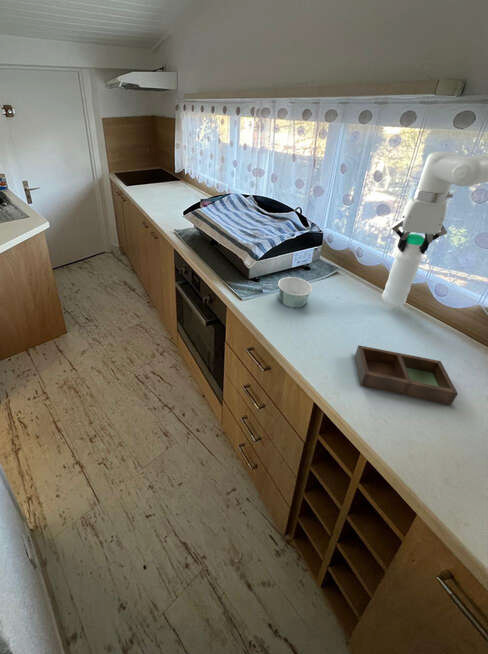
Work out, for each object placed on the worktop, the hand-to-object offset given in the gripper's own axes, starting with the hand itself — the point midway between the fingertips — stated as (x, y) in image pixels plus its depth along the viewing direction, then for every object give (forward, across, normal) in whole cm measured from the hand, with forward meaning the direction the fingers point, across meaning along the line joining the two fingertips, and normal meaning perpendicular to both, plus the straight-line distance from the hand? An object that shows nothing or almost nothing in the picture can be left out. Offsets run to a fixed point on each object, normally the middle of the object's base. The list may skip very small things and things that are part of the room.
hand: (411, 250), depth 98 cm
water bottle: (+20, 0, 0) cm, 20 cm away
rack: (+24, +6, +33) cm, 41 cm away
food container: (+23, +34, +4) cm, 41 cm away
